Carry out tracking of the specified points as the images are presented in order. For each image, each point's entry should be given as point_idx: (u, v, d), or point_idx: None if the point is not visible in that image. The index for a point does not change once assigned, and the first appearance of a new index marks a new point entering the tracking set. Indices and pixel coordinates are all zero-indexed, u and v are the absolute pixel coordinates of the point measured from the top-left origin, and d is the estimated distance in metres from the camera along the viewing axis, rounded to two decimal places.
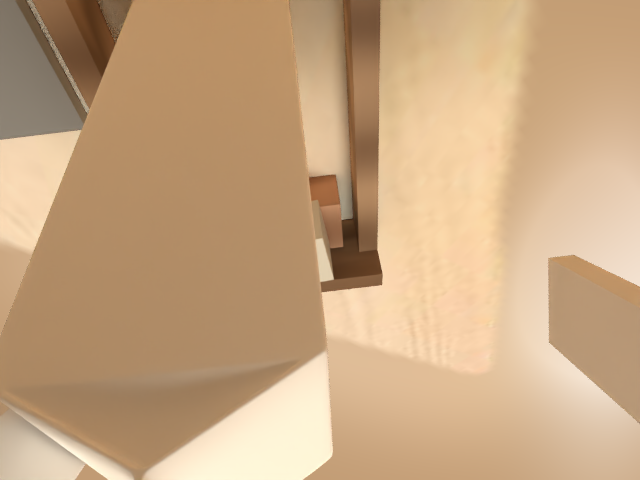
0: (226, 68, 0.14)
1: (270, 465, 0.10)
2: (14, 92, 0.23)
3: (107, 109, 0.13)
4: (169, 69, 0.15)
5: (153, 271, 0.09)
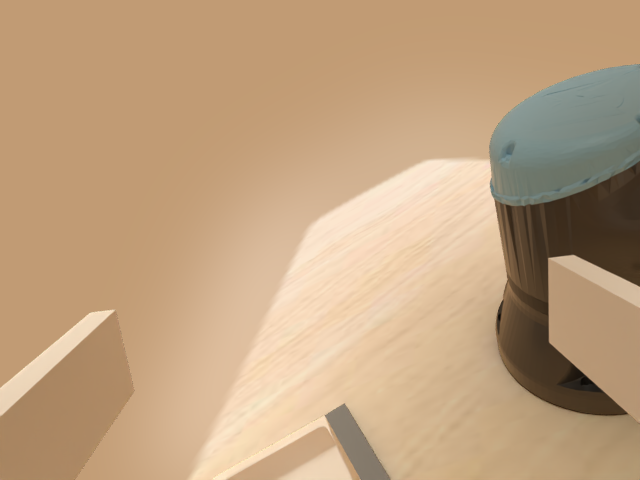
0: None
1: None
2: None
3: None
4: None
5: None
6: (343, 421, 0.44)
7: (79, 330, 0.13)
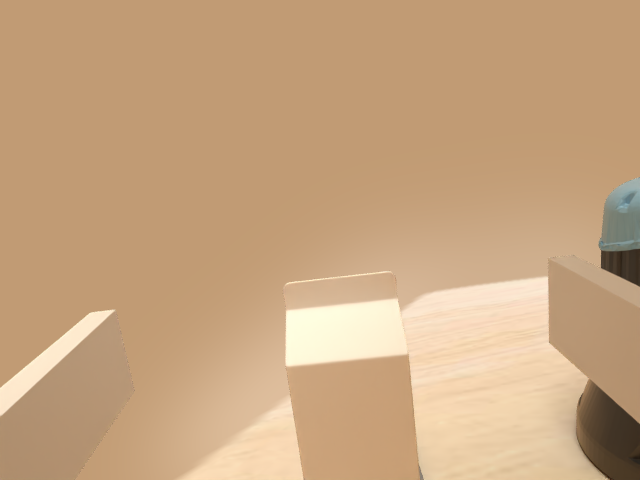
0: None
1: (338, 332, 0.24)
2: None
3: None
4: None
5: None
6: None
7: (79, 330, 0.13)
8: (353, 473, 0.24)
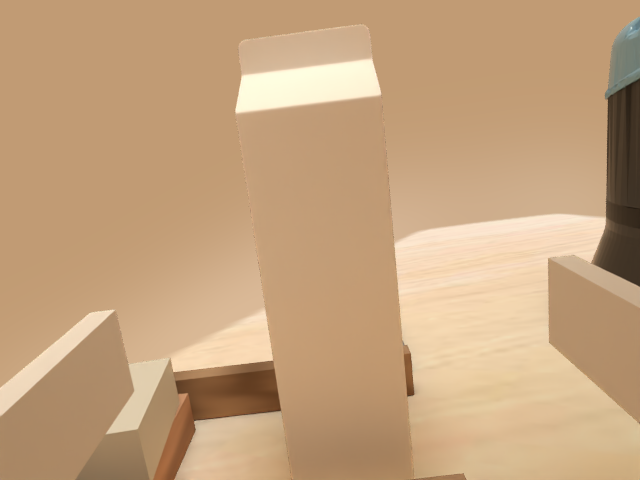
0: None
1: (300, 86, 0.20)
2: None
3: None
4: None
5: None
6: None
7: (79, 330, 0.13)
8: (317, 256, 0.20)
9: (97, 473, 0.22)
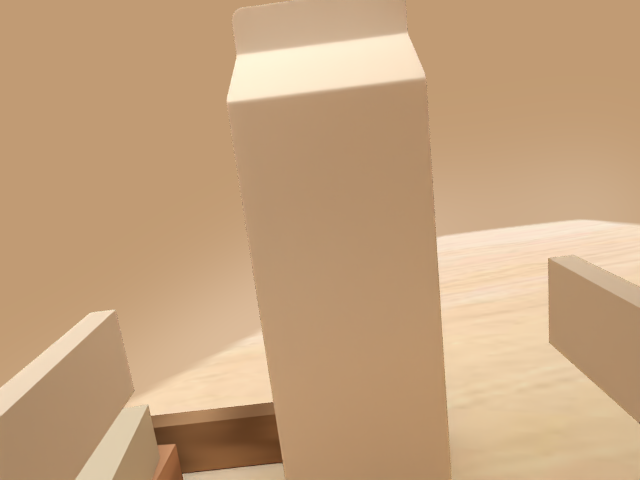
0: None
1: (313, 67, 0.15)
2: None
3: None
4: None
5: None
6: None
7: (79, 330, 0.13)
8: (335, 294, 0.15)
9: None
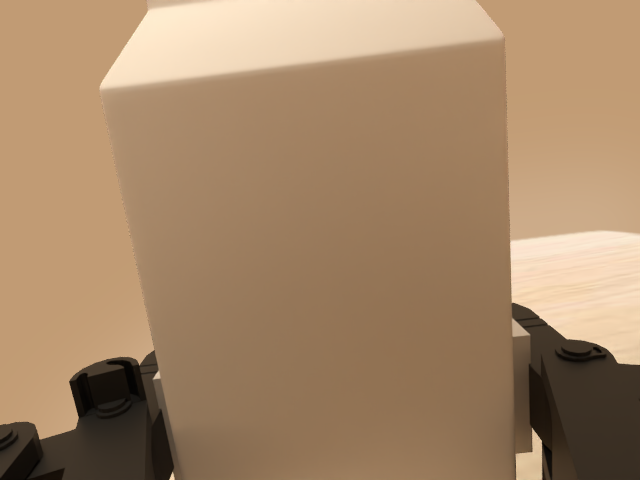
0: None
1: (280, 24, 0.08)
2: None
3: None
4: None
5: None
6: None
7: None
8: (321, 450, 0.08)
9: None
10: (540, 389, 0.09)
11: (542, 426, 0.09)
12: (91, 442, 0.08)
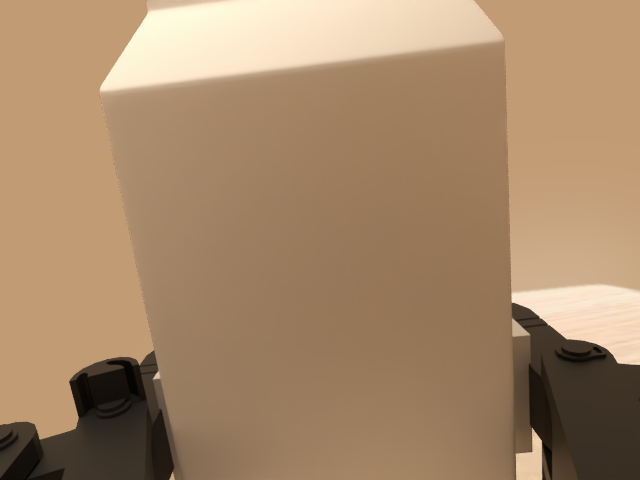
0: None
1: (279, 26, 0.08)
2: None
3: None
4: None
5: None
6: None
7: None
8: (321, 452, 0.08)
9: None
10: (540, 389, 0.09)
11: (542, 426, 0.09)
12: (91, 442, 0.08)
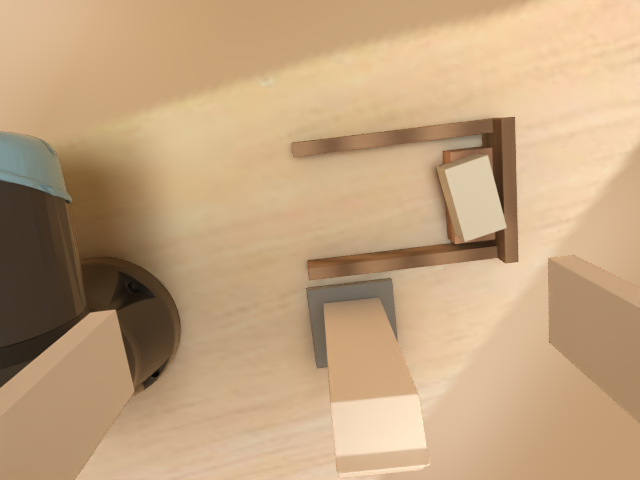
0: None
1: (382, 423, 0.31)
2: None
3: None
4: None
5: None
6: (323, 352, 0.51)
7: (79, 330, 0.13)
8: (368, 353, 0.38)
9: (461, 160, 0.44)
10: None
11: None
12: None
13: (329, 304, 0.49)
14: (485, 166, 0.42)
